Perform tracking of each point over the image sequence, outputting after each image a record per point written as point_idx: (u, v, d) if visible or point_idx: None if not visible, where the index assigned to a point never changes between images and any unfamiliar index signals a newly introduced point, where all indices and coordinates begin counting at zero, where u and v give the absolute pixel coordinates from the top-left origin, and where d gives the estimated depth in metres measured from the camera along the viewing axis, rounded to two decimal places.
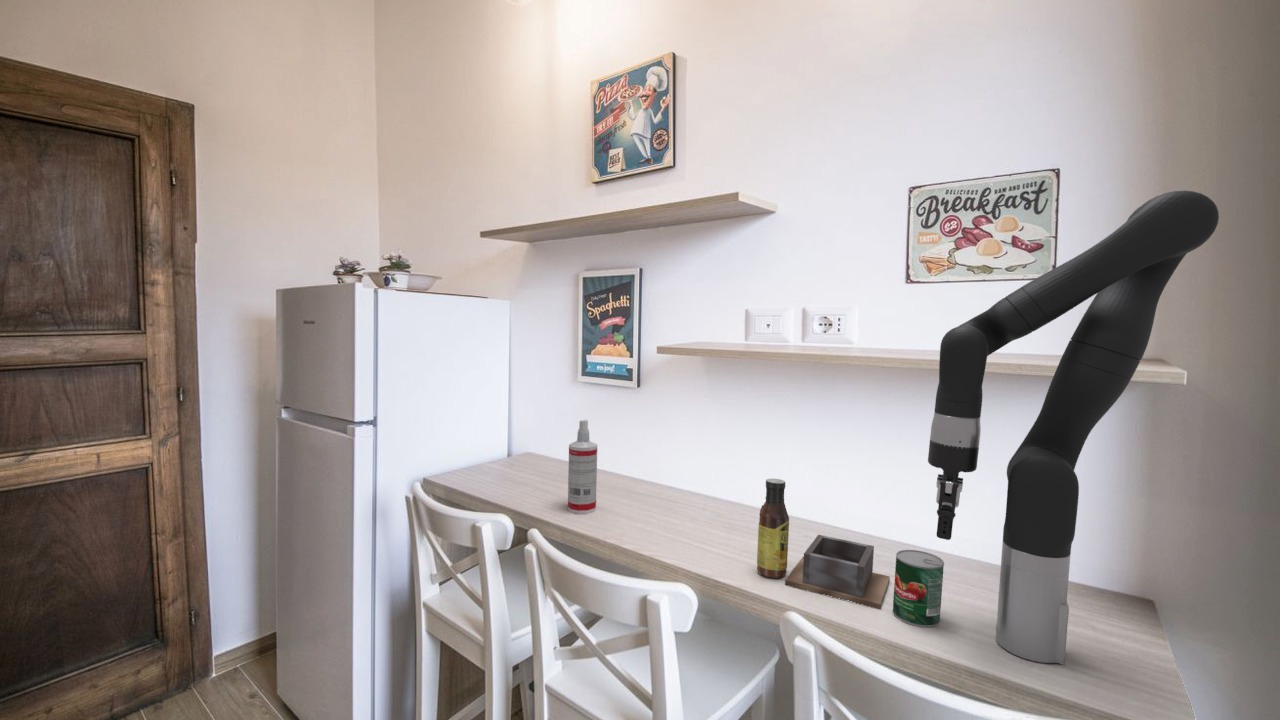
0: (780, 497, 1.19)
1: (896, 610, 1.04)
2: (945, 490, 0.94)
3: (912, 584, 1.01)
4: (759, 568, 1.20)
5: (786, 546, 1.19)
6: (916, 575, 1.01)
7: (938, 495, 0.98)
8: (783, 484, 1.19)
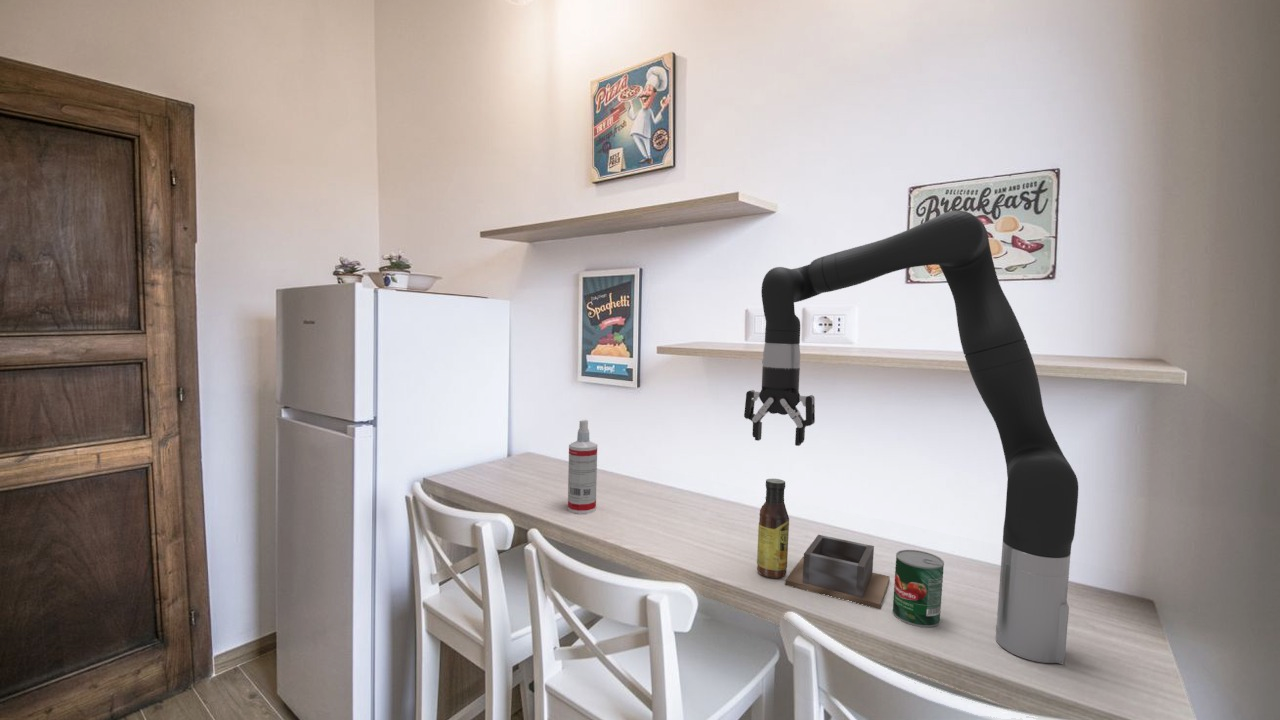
0: (780, 497, 1.19)
1: (896, 610, 1.04)
2: (812, 403, 1.15)
3: (912, 584, 1.01)
4: (759, 568, 1.20)
5: (786, 546, 1.19)
6: (916, 575, 1.01)
7: (794, 411, 1.16)
8: (783, 484, 1.19)
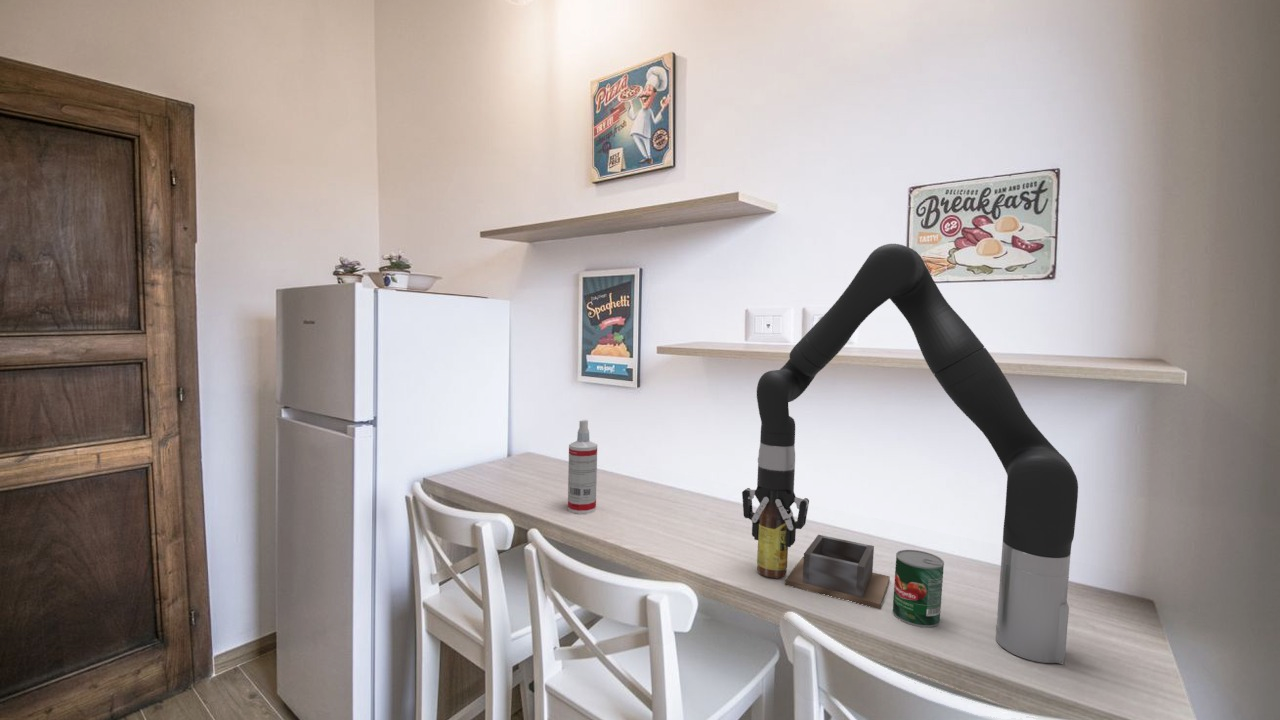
0: None
1: (896, 610, 1.04)
2: (806, 508, 1.17)
3: (912, 584, 1.01)
4: (759, 568, 1.20)
5: None
6: (916, 575, 1.01)
7: (787, 514, 1.18)
8: None
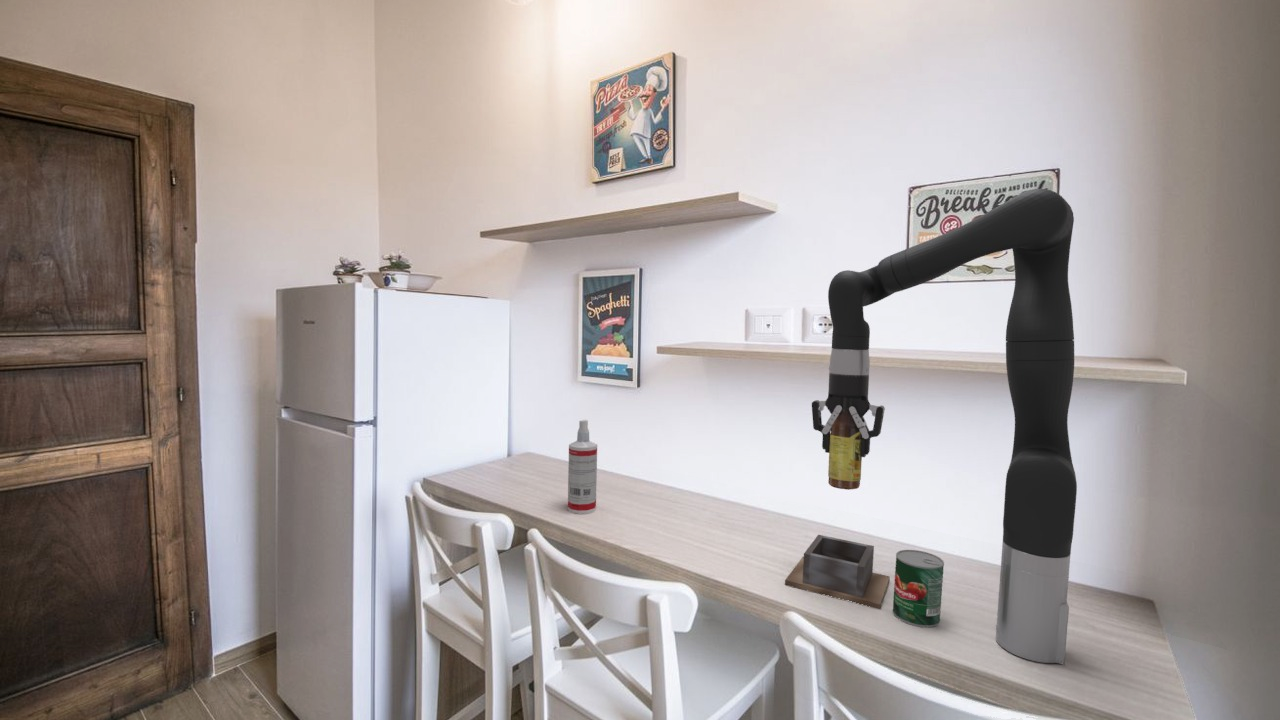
0: None
1: (896, 610, 1.04)
2: (882, 414, 1.11)
3: (912, 584, 1.01)
4: (831, 481, 1.15)
5: (860, 456, 1.14)
6: (916, 575, 1.01)
7: (862, 421, 1.12)
8: None
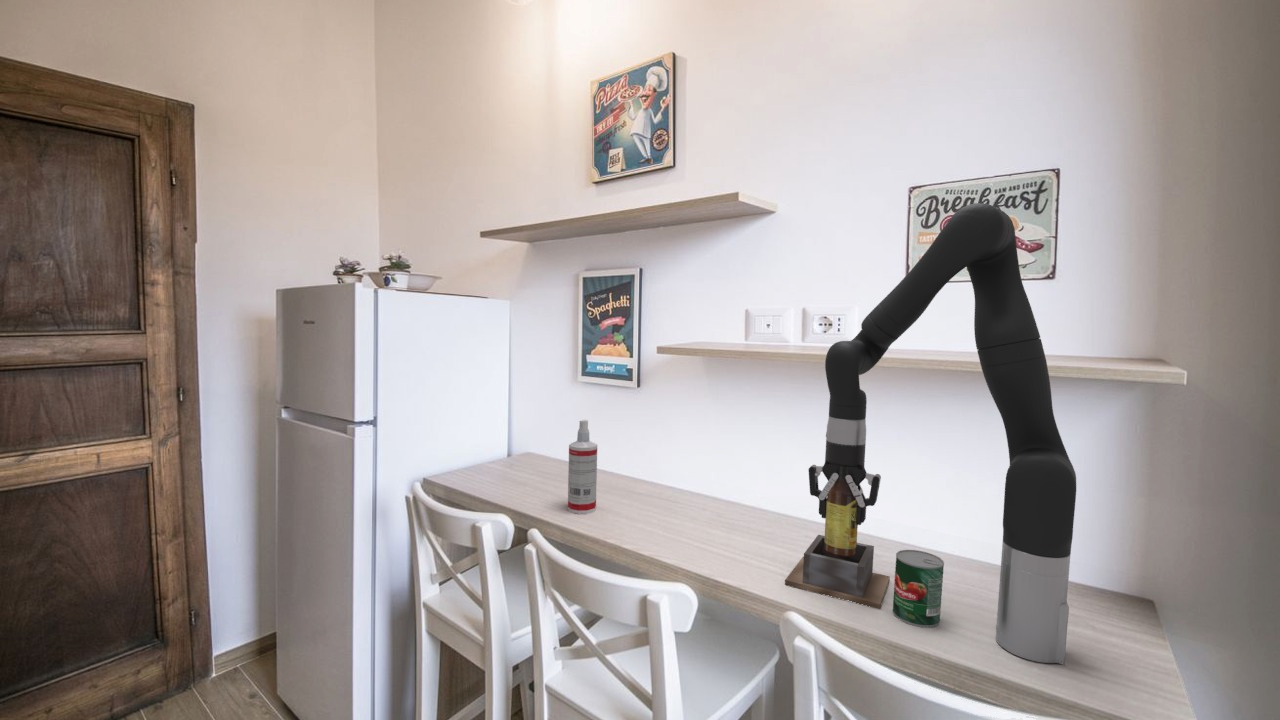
0: None
1: (896, 610, 1.04)
2: (878, 484, 1.12)
3: (912, 584, 1.01)
4: (827, 547, 1.16)
5: (856, 524, 1.15)
6: (916, 575, 1.01)
7: (858, 490, 1.13)
8: None
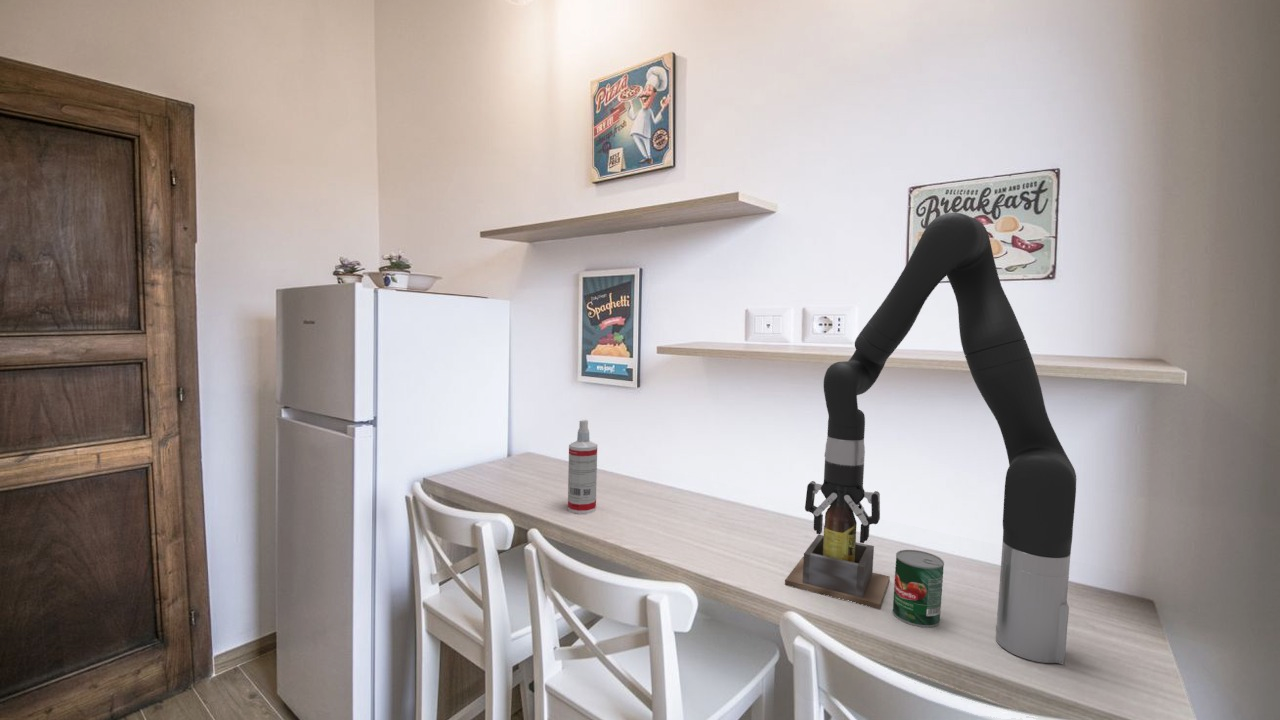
0: None
1: (896, 610, 1.04)
2: (878, 501, 1.12)
3: (912, 584, 1.01)
4: None
5: (854, 550, 1.15)
6: (916, 575, 1.01)
7: (859, 509, 1.13)
8: None
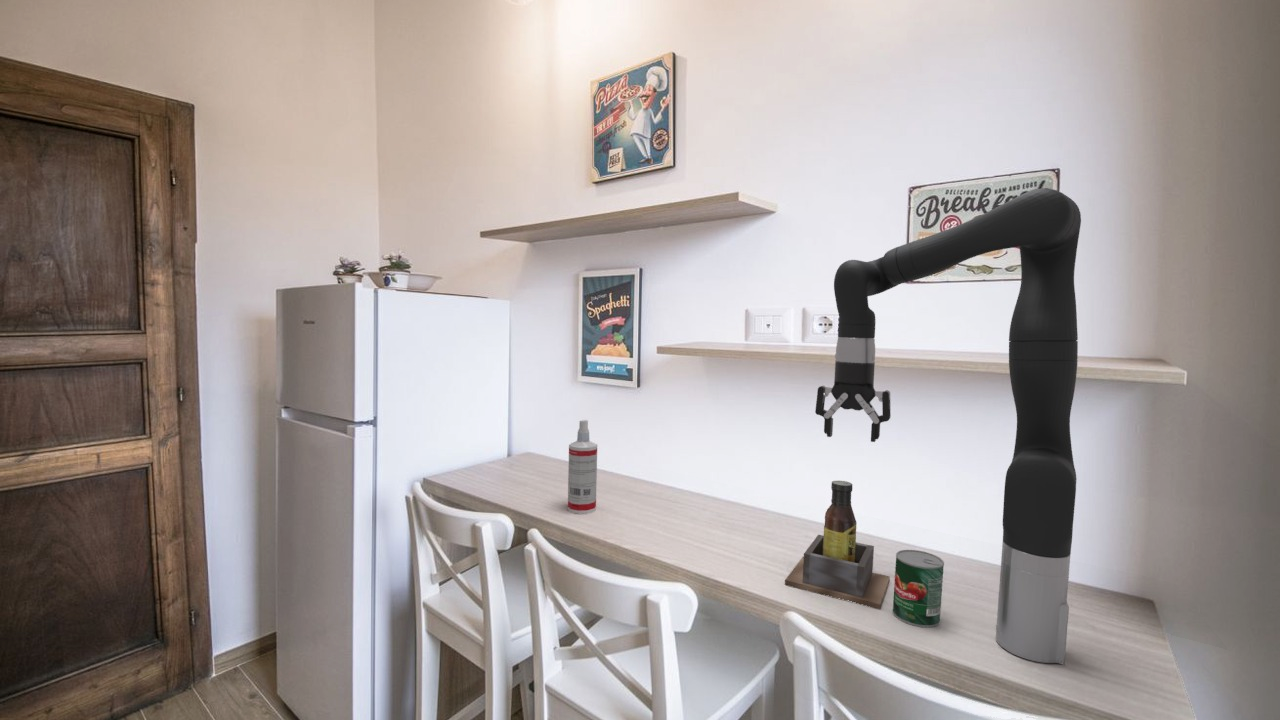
0: (848, 500, 1.15)
1: (896, 610, 1.04)
2: (889, 398, 1.13)
3: (912, 584, 1.01)
4: None
5: (854, 550, 1.15)
6: (916, 575, 1.01)
7: (870, 407, 1.14)
8: (851, 486, 1.15)
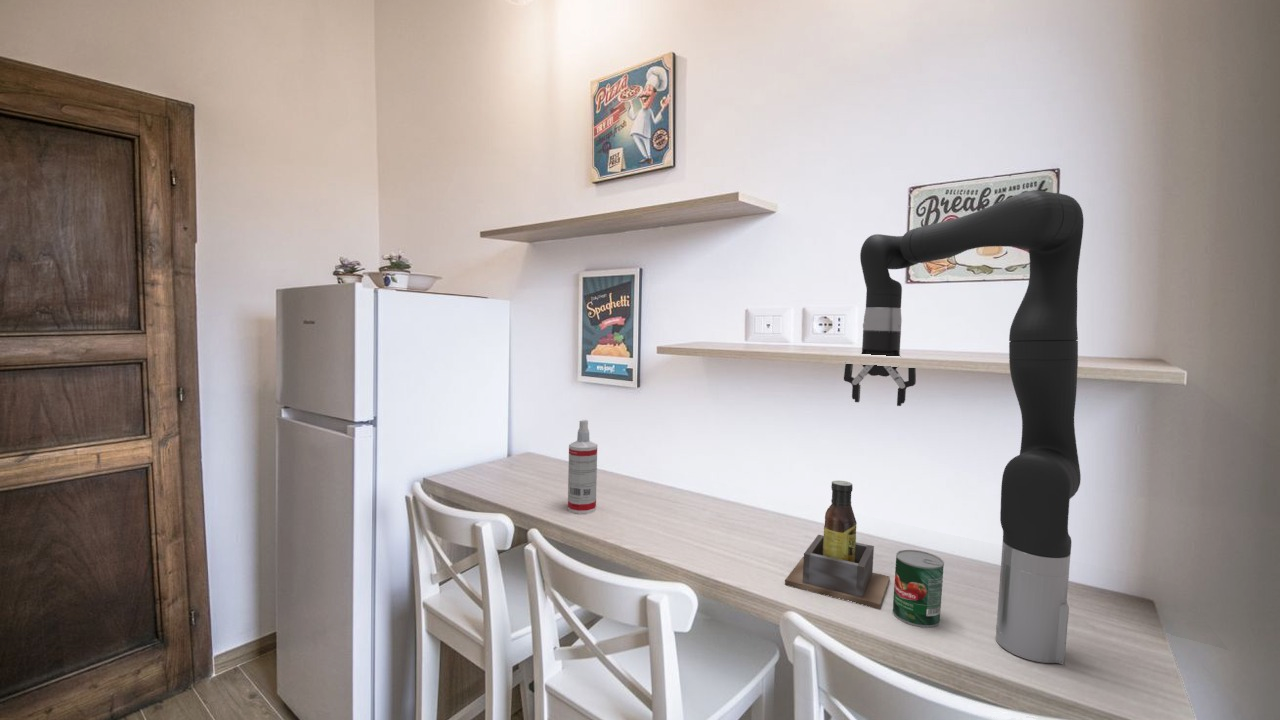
0: (848, 500, 1.15)
1: (896, 610, 1.04)
2: None
3: (912, 584, 1.01)
4: None
5: (854, 550, 1.15)
6: (916, 575, 1.01)
7: (896, 373, 1.21)
8: (851, 486, 1.15)
